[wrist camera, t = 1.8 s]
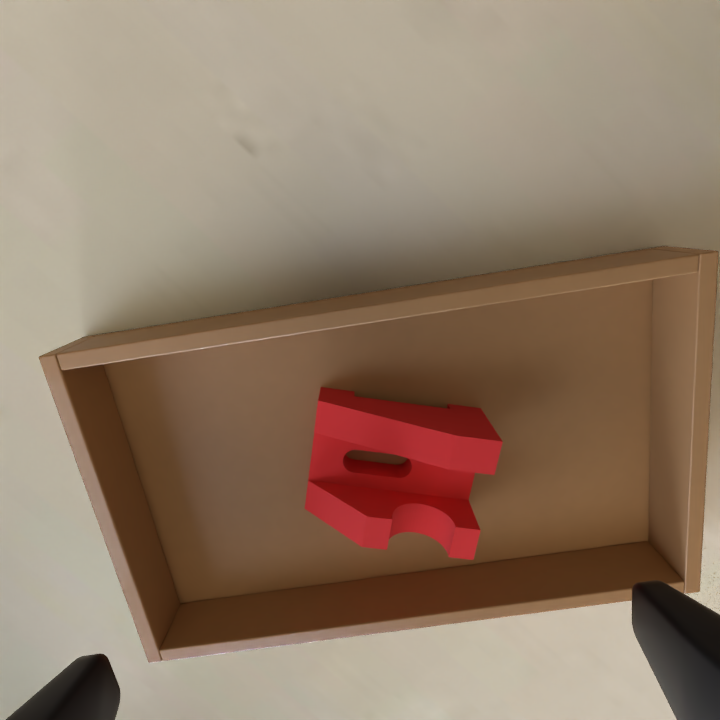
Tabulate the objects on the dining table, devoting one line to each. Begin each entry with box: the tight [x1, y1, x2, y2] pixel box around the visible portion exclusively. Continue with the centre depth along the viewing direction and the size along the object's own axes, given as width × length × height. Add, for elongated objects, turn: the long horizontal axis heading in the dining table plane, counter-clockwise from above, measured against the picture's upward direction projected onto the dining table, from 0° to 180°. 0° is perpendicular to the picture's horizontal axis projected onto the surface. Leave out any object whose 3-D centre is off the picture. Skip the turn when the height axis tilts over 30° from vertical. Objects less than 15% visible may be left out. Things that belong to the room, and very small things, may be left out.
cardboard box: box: [39, 246, 719, 663], centre depth 19 cm, size 22×13×3 cm, turn 99°
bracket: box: [305, 387, 503, 560], centre depth 18 cm, size 6×5×3 cm
